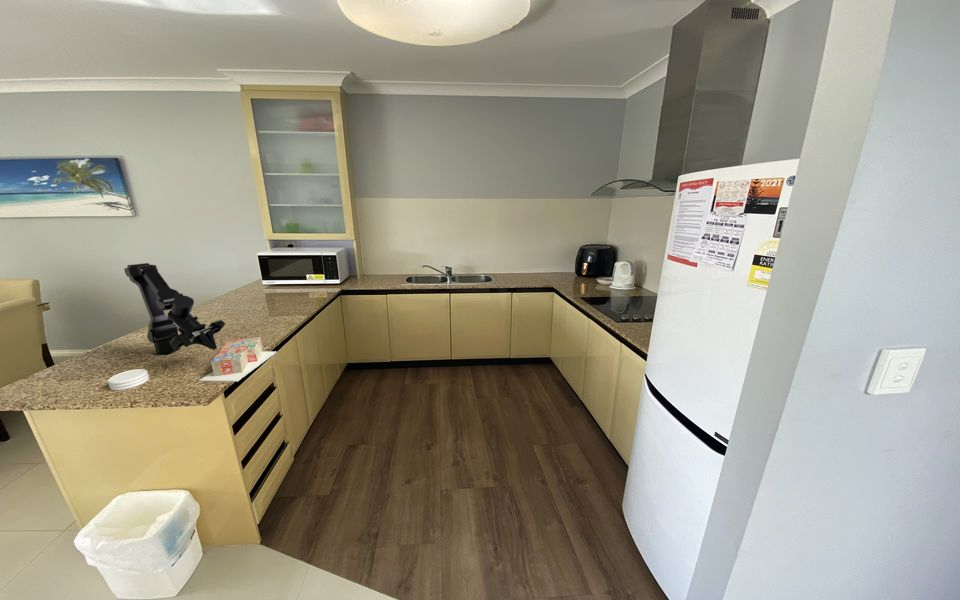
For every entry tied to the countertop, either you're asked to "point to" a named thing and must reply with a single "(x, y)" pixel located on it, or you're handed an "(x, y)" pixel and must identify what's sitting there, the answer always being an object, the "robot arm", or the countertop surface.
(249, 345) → the stack of blocks
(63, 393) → the countertop surface
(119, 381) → the white ridged disc
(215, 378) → the mat
